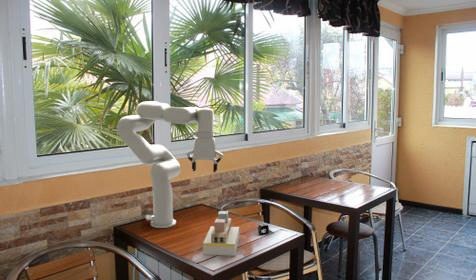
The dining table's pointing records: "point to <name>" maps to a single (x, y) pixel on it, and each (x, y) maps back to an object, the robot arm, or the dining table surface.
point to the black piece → (263, 232)
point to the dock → (221, 247)
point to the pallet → (221, 233)
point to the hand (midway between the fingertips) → (204, 171)
